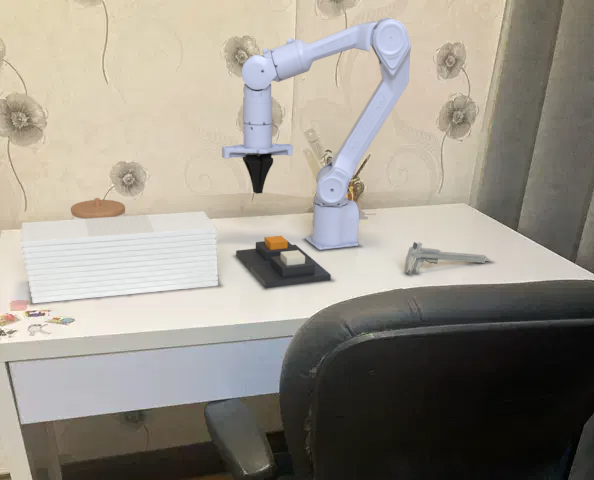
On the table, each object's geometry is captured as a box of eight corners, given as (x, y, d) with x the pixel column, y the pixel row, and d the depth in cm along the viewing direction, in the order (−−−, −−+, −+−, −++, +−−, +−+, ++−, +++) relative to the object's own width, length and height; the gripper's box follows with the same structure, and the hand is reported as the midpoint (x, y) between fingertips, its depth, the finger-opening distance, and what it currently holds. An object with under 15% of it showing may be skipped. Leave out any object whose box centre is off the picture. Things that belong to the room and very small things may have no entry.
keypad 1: (295, 249, 139) (295, 235, 137) (311, 264, 132) (312, 249, 130) (236, 256, 135) (235, 241, 133) (249, 271, 127) (249, 256, 126)
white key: (297, 258, 127) (298, 250, 126) (304, 265, 124) (305, 256, 123) (280, 260, 126) (280, 251, 125) (287, 267, 123) (287, 258, 122)
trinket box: (65, 247, 136) (57, 201, 132) (97, 232, 145) (91, 189, 140) (108, 254, 133) (102, 208, 128) (138, 239, 142) (134, 195, 137)
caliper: (407, 275, 128) (410, 244, 125) (404, 273, 129) (407, 242, 125) (490, 262, 136) (495, 232, 132) (486, 260, 136) (492, 230, 133)
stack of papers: (32, 303, 112) (20, 241, 106) (33, 280, 120) (22, 222, 115) (218, 285, 121) (215, 227, 115) (206, 265, 129) (203, 211, 124)
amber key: (281, 244, 134) (281, 235, 133) (287, 249, 131) (287, 241, 130) (264, 245, 133) (264, 237, 132) (270, 251, 130) (270, 242, 129)
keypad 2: (312, 264, 132) (312, 250, 130) (330, 280, 124) (331, 265, 123) (250, 271, 127) (250, 256, 126) (265, 288, 120) (265, 272, 119)
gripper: (228, 127, 125) (229, 199, 132) (299, 125, 130) (296, 194, 137) (218, 121, 131) (220, 190, 138) (286, 119, 136) (284, 186, 143)
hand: (257, 192), depth 138 cm, fingers closed
